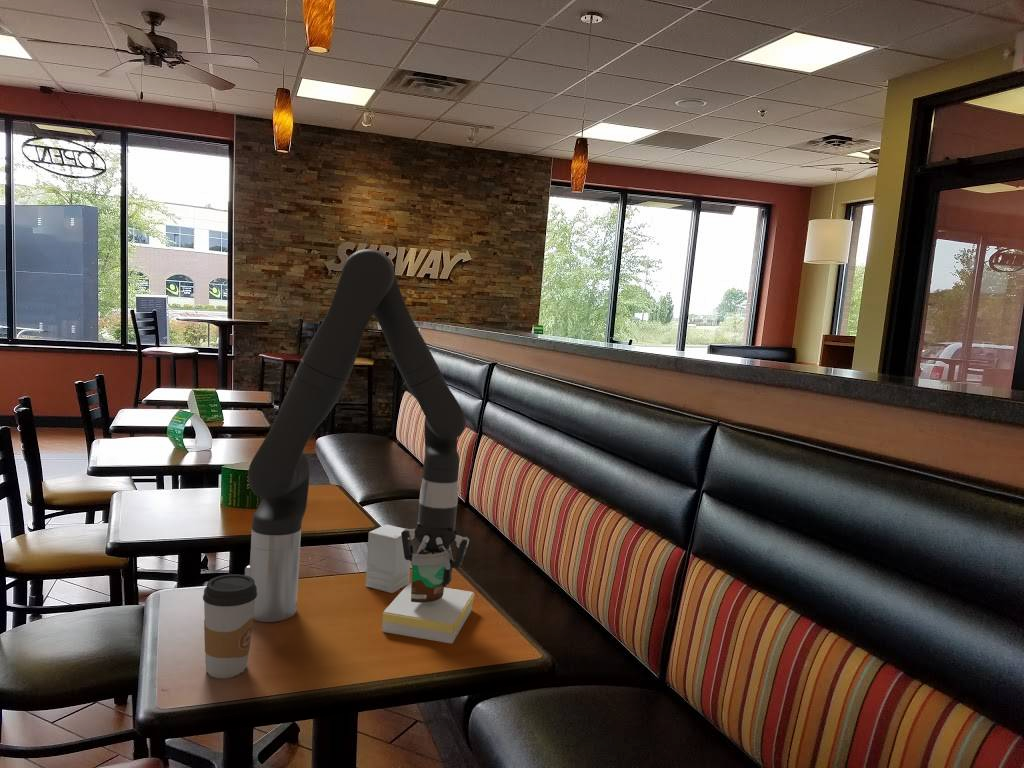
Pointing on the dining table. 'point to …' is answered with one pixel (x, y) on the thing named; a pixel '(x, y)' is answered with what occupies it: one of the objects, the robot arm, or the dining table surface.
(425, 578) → the food container
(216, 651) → the coffee cup
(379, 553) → the supplement box
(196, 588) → the dining table surface
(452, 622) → the white flat block
